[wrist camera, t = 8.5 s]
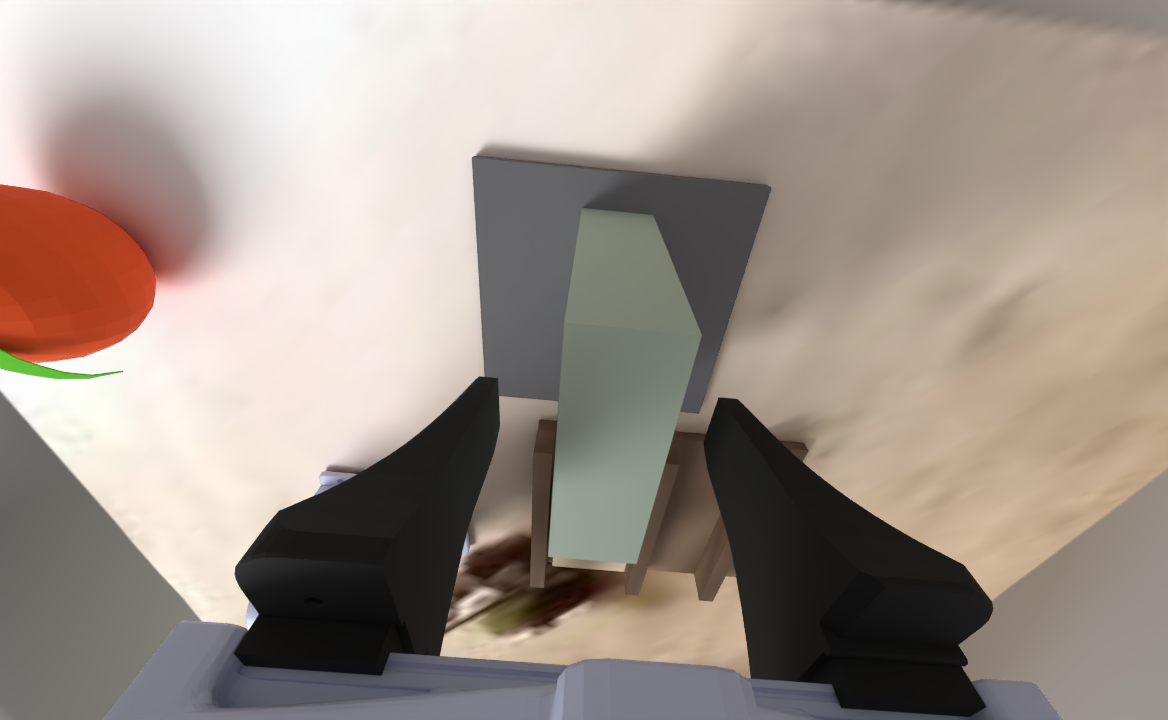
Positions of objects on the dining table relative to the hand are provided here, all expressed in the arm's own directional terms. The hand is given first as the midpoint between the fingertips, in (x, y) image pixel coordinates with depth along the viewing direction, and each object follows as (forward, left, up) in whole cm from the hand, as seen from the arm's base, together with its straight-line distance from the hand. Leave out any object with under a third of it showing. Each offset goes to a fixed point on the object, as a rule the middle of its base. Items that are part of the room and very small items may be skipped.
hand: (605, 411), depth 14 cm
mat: (0, 0, -8) cm, 8 cm away
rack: (+5, -15, -8) cm, 18 cm away
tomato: (-23, 0, -8) cm, 24 cm away
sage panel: (0, 0, -8) cm, 8 cm away
